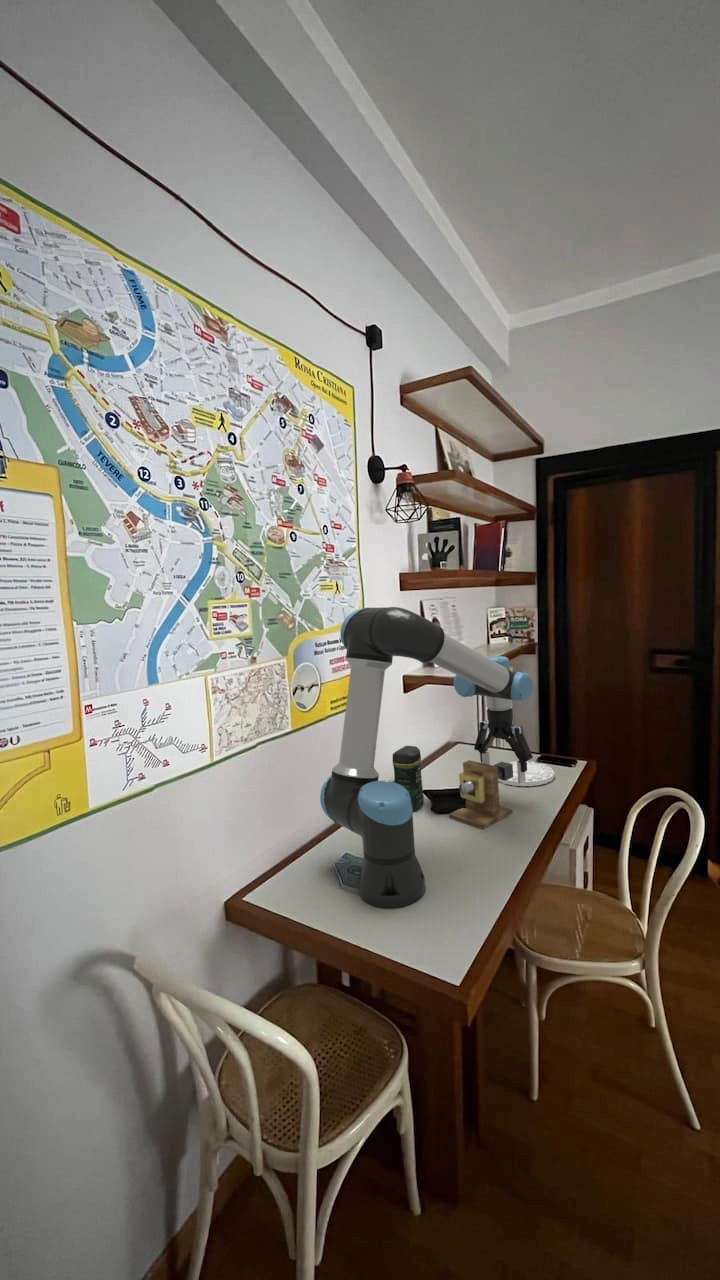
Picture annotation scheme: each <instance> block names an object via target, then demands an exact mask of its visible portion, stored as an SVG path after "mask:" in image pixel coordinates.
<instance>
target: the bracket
mask: <svg viewBox="0 0 720 1280" xmlns="http://www.w3.org/2000/svg"><path fill="white" fill-rule="evenodd" d="M462 769H463V772H469V773H472V774H476V775H480V776H484V782H485V797H486V801H484V802H482V803H478V802H475V801H471V800H468V799H465V798H464V799H465V806H466V808H462V807H461V809H460V808H459V809H456V810H453V811H452V812H450V813H448V817H449V819H451V820H454V821H458V822H459V823H463V824H464V825H465V824H466V825H469V826H471V827H474V828H477V829H480V830H484V829H487V828H489V827H490V826H493V825H494V824H496V823H497V822H499V821H501V820H503V819H505V818H506V817H508V816H510V815H512V814H513V808H509V807H506V806H503V805H501V804H500V792H499V791H500V789H499V788H500V787H499V781H498V771H497V766H494V765H491V764H490V765H488V764H484V763H481V761H475V760H470V759H469V760H466V761H464V762H462ZM472 792H475V790H474V791H472Z"/></svg>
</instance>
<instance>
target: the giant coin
mask: <svg viewBox="0 0 720 1280" xmlns="http://www.w3.org/2000/svg"><path fill="white" fill-rule="evenodd" d="M509 764H513V777H512V778H510V779H508V780H506V781H505V780H501V779H498V783H499V782H500V784H503V785H504V784H505V785H509V786H511V785H512V786H511V787H516V786H518V787H520V786H521V787H524V786H532V787H533V786H540V785H546V784H549V783H550V782H553V780H554V779H555V777H556V776H555V772H554V770H553V768H552V767H550V766H548V765H547V764H545V763H536V762H535V761H530V762H529V761H527V771H526V772H525V777H526V781H525V782H523V783H521V784H520V783H518V771H517V761H515V760H514V761H510V762H509ZM548 782H549V783H548Z"/></svg>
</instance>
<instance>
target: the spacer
mask: <svg viewBox="0 0 720 1280" xmlns="http://www.w3.org/2000/svg"><path fill="white" fill-rule="evenodd" d="M458 777H459V786H460V785H461V784H463V783H465V782H467V781H469V782H473V783H475V792H470V793H468V794H466V795H463V794H462V793H461V792H460V791H459V792H460V798H462V799H468V800H471V801H475V802H478V803H482V802H484V801H486V797H485V782H484V776H480V775H476V774H472V773H469V772H464V771H463V772H461V773H458Z"/></svg>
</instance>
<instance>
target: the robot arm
mask: <svg viewBox="0 0 720 1280" xmlns="http://www.w3.org/2000/svg"><path fill="white" fill-rule="evenodd" d="M339 636H340V641H341V643H342V644H343V648H344V649H346V655H345V660H346V661H347V663H348V664H349V666H350V672H349V678H348V679H349V680H348V687H347V694H346V695H347V696H346V702H345V703H346V706H345V712H344V720H343V721H344V722H343V729H342V737H341V745H340V752H339V753H340V754H339V761H338V763H337V764H335V766H333V767H332V769H331V775H330V776H329V777H327V780H326V781H324V783H323V784H322V787H321V789H320V793H319V794H320V795H319V797H320V798H319V799H320V805H321V809H322V811H323V812H324V814H325V815H326V816H327V818H329V819H330V820H332V822H333V823H335V824H336V825H339V826H341V827H344V828H345V829H348V830H349V831H350V832H353V833H355V834H356V835H358V836H360V837H361V842H362V849H363V850H362V852H363V859H362V860H363V861H362V865H361V866H362V867H361V871H360V875H359V878H358V880H357V881H358V884H357V885H358V895H359V896H360V898H361V899H362V900H363V901H364V902H366V903H367V904H369V905H371V906H374V907H379V908H383V909H384V908H389V909H390V908H391V909H392V908H400V907H404V906H409V905H411V904H413V903H416V902H417V901H418V900H420V898H422V896H423V895H424V894H425V892H426V889H427V888H426V878H425V875H424V873H423V870H422V867H421V865H420V863H419V860H418V858H417V856H416V849H415V847H416V846H415V833H414V818H413V813H414V811H412V810H413V808H412V804H411V799H410V795H409V792H408V791H407V790H406V789H405V788H404V787H403V786H401V785H399V784H397V783H395V781H393V782H392V781H388V782H387V781H385V780H379V778H380V775H379V774H380V773H379V772H378V771H377V769H376V768H375V761H376V760H375V759H376V749H377V743H378V742H377V740H378V733H379V732H378V731H379V723H380V715H381V709H382V708H381V707H382V699H383V693H384V692H383V691H384V681H385V673H386V670H387V669H388V668H389V667H391V666H392V664H393V658H394V657H403V658H409V659H413V660H417V661H418V662H419V663H420V662H421V663H424V664H428V663H432V664H433V665H436V666H438V667H440V668H442V669H444V670H446V671H448V672H450V673H452V674H455V676H454V678H453V687H454V690H455V691H456V694H458V695H459V696H461V697H463V698H467V697H468V698H469V697H470V698H471V697H473V696H482V697H485V703H486V704H485V705H486V708H487V709H486V717H487V720H484V721H480V722H479V730H478V735H477V738H476V741H475V745H474V747H473V749H474V751H478V752H479V755H480V756H479V757H480V758H479V759H480V763H484V764H488V765H491V761H490V751H488V749H489V748H490V747H491V745H492V743H493V741H494V740H495V739H500V740H503V741H505V742H506V743H508V745H509V746H510V749H511V750H512V751H513V753H514V755H515V756H516V758H517V759H518V760H517V761H516V762H517V771H518V783H520V784H521V783H523V782H525V781H526V777H525V772H526V771H527V762H529V761H530V760H532V759H533V758H534V756H533V754H532V752H531V749H530V746H529V745H528V742H527V740H526V737H525V734H524V729H523V728H524V727H523V726H521V725H519V726H514V725H513V721H514V713H513V712H514V711H513V710H514V709H513V708H512V707H513V702H516V701H519V702H525V701H527V700H529V699H530V697H532V694H533V690H534V682H533V678H532V677H531V675H530V674H528V673H526V672H525V673H524V672H521V671H513V670H512V669H511V667H510V660H509V658H508V657H506V656H502V655H499V656H498V655H497V656H488V657H487V656H486V655H483V654H481V653H479V652H478V651H477V650H474V649H472V648H470V647H469V646H466V645H465V644H464V643H462V642H461V641H458V640H456V639H454V638H453V637H451V636H449V635H447V634H446V633H445V630H444V628H443V627H441V626H440V625H438V624H437V623H434V622H433V621H431V620H429V619H427V618H426V617H423V616H422V615H420V614H418V613H416V612H413V611H411V610H409V609H406V608H403V607H397V606H390V607H389V606H388V607H363V608H359V609H355V610H354V611H352V612H351V613H350V614H348V615H347V616H346V617H345V618H344V620H343V622H342V625H341V627H340V635H339ZM488 729H489V732H488ZM487 732H488V734H487ZM486 736H487V737H486Z"/></svg>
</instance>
